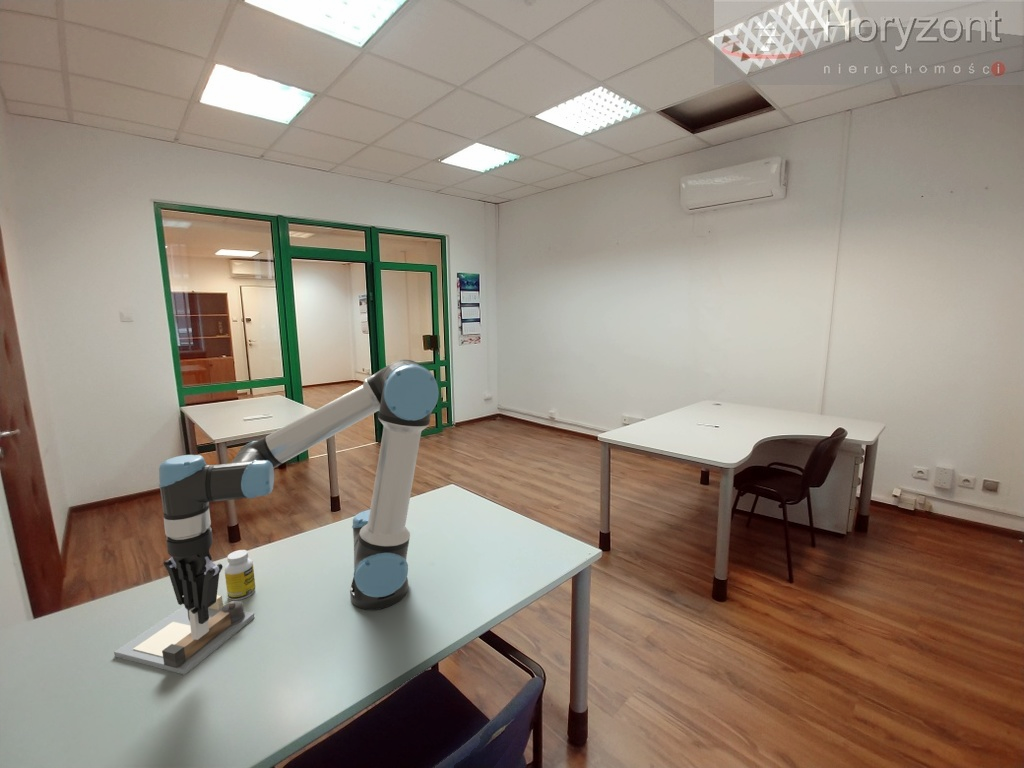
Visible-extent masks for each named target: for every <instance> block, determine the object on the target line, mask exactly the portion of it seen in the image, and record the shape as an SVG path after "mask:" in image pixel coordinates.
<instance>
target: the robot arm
mask: <svg viewBox="0 0 1024 768" xmlns="http://www.w3.org/2000/svg"><path fill="white" fill-rule="evenodd" d="M439 393H440V392H439V386H438V382H437V380H436V378H435V376H434V375H433V374H432V372H431V371H430V370H429V369H428V368H426V367H425V366H423V365H421V364H420V363H418V362H416V361H414V360H411V359H398V360H395V361H393V362H391V363H390V364H388V365H386V366H385V367H383V368H381V369H380V370H378V371H377V372H375V373H374V374H372V375H370V376H367V377H366V378H365V379H364V380H363V383H362V385H359V387H358V386H357V387H356V388H355V389H353V390H351V391H349V392H347V393H345V394H343V395H341V396H339V397H337V398H336V399H334V400H332V401H330V402H328V403H326V404H324V405H323V406H320V407H319V408H317V409H315V410H313V411H311V412H309V413H307V414H305V415H303V416H302V417H300V418H298V419H296V420H294V421H292V422H290V423H289V424H287V425H285V426H283V427H281V428H279V429H278V430H275V431H274V432H272V433H270V434H267V435H266V436H265V437H262V438H260V439H259V440H253V441H250V442H248V443H246V444H245V445H243V446H242V447H241V448H240V449H239V450H238V452H237V454H236V455H235V457H234V458H233V459H232V460H231V462H230V463H229V462H228V463H221V464H220V463H219V464H207V463H206V460H205V458H204V456H203V455H200V454H186V455H185V454H183V455H178V456H175V457H171V458H168V459H166V460H164V461H163V462H162V463H161V464H160V465H159V466H158V467H159V468H158V474H159V476H158V479H159V483H158V487H159V489H160V497H161V504H162V511H163V525H164V532H165V533H164V534H165V537H166V538H165V539H166V548H167V554H168V556H169V557H170V558H169V559H167V560H165V561H164V562H163V566H164V567H165V569H166V571H167V572H168V576H169V580H170V582H171V585H172V589H173V591H174V592H173V593H174V595H175V599H176V600H177V604H178V605H179V606H184V605H185V608H186V609H187V610H188V619H189V621H190V627H191V635H192V639H196V640H198V639H199V638H201V637H202V636H203V635H205V634H206V633H207V632H209V625H208V620H209V614H208V613H209V612H208V608H209V607H210V606H211V605H213V604H214V603H216V599H217V595H218V588H219V580H220V573H221V572H222V570H223V567H224V566H223V564H222V563H218V564H215V562H213V557H212V555H211V553H210V549H211V547H212V546H213V543H214V539H213V531H212V530H213V529H212V527H211V525H212V521H211V513H210V512H211V511H210V503H215V502H221V501H222V502H223V501H232V500H234V501H235V500H242V499H255V498H258V497H259V498H260V497H262V496H269V495H270V494H271V493H272V491H273V489H274V485H275V472H274V471H275V470H274V469H275V468H277V467H279V466H281V465H283V464H284V463H285V462H287V461H289V460H291V459H293V458H295V457H297V456H298V455H300V454H301V453H304V452H305V451H308V450H309V449H311V448H312V447H315V446H316V445H319V444H320V443H322V442H324V441H326V440H328V439H329V438H331V437H333V436H335V435H337V434H338V433H340V432H342V431H344V430H346V429H348V428H349V427H351V426H353V425H355V424H356V423H358V422H360V421H362V420H364V419H366V418H368V417H369V416H372V415H373V414H375V413H377V412H378V416H377V417H378V418H377V419H378V420H379V422H380V423H381V424H382V425H383V428H382V436H381V439H380V441H381V442H380V447H379V452H378V453H379V454H378V459H377V466H376V470H375V471H376V473H375V478H374V483H373V488H372V489H373V491H372V496H371V503H370V508H369V509H367V510H363V511H360V512H358V513H357V514H356V515H355V516H354V517H353V518H352V526H351V529H352V534H353V568H354V569H353V577H352V580H351V585H350V588H349V590H350V591H349V592H350V600H351V603H352V604H353V605H354V606H355V607H356V608H358V609H362V610H368V611H370V610H372V611H375V610H381V609H387V608H388V607H391V606H393V605H395V604H397V603H398V602H400V601H402V599H403V598H405V597H406V595H407V594H408V591H409V579H408V576H409V575H408V574H409V573H408V572H409V564H408V562H407V555H408V549H409V545H410V538H411V532H410V531H409V529H408V528H407V527H406V522H407V516H408V511H409V505H410V500H411V495H412V487H413V482H414V477H415V476H414V475H415V471H416V467H417V466H416V465H417V460H418V453H419V449H420V448H419V447H420V441H421V437H422V431H423V430H425V429H427V428H428V427H429V426H430V423H431V417H432V416H431V415H432V411H433V410H435V409H434V408H436V405H438V404H437V403H438V400H439Z"/></svg>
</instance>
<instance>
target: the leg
mask: <svg viewBox="0 0 1024 768" xmlns="http://www.w3.org/2000/svg"><path fill="white" fill-rule="evenodd" d="M244 610H245V609H244V603H243V601H241V600H231V601H230V602H228V603H226V604H224V605H223V607H222V611H220V612H218V613H217V614H216V615H214V616H213V617H211V618H210V619H209V620H208V625H209V632H207V633H206V634H205V635H203V636H202V637H201V638H199V639H198V640H196V639H192V635H191V633H190V634H188V635H187V636H186V637H184V638H183V639H182V640H180V641H179V642H177V643H176V644H175V645H174V644H171V645H169V646H168V647H167V648H165V649H164V650H163V651H162V653H163V660H164V665H166V666H170V667H174V668H178V667H179V666H180V665H181V664H183V663H184V662H185V661H186V659H188V658H189V657H190V656H191V655H193V654H194V653H195V652H196V651H198V650H199V649H200V648H202V647H203V646H204V645H205V644H207V643H208V642H209V641H210V640H212V639H213V638H214V637H216V636H217V635H218V634H219V633H221V632H222V631H223V630H224V629H226V628H227V627H228V626H229V625H231V624H232V623H235V622H237V621H239V620H240V619H242V618H243V616H244V612H245V611H244Z"/></svg>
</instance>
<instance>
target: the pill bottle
mask: <svg viewBox="0 0 1024 768" xmlns="http://www.w3.org/2000/svg"><path fill="white" fill-rule="evenodd" d="M253 562H254V561H253V560H252V559H251V558H249V551H248V550H246V549H239V550H238V549H237V550H235V551H232V552H230V553H229V554H227V564H226V565H225V566H224V575H225V577H224V579H225V584H226V594H227V597H228V599H229V600H231V601H241V600H244V599H247V598H248V597H250V596H251V595H253V594H254V593H255V591H256V578H255V572H254V571H255V570H254V563H253Z"/></svg>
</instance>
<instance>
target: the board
mask: <svg viewBox="0 0 1024 768" xmlns="http://www.w3.org/2000/svg"><path fill="white" fill-rule="evenodd" d="M223 606H224V602H223V596H222V595H219V594H217V599H216V603H214V604H213V605H211V606H210V607H209V608H208V612H209V613H208V614H209V619H210V618H211V617H213V616H214V615H216V614H217V613H218V612H220V611H222V607H223ZM254 618H255V613H253V612H249V611H244V616H243V618H242V619H240V620H239V621H237V622H235V623H232V624H231V625H229V626H228V627H227V628H226V629H224V630H223V631H222V632H221V633H219V634H218V635H217V636H216V637H214V638H213V639H212V640H210V641H209V642H208V643H207V644H205V645H204V646H203V647H202V648H200V649H199V650H198V651H196V652H195V653H194V654H193V655H191V656H190V657H189V658H188V659H186V661H185V662H184V663H183V664H181V665H180V666H179V667H178V668H174V667H170V666H166V665H164V660H163V653H162V651H163V650H164V649H165V648H167V647H168V646H169V645H171V644H174V645H175V644H176V643H177V642H179V641H180V640H182V639H183V638H184V637H186V636H187V635H188V634H190V633H191V627H190V621H189V619H188V610H187V609H186V608H185V605H184V604H183V605H181V606H180V607H179V608H178V609H176V610H175V611H173V612H172V613H170V614H169V615H167V616H165V617H164V618H162V619H161V620H160V621H157V622H156V623H155V624H154V625H151V627H149V628H148V629H146V630H144V631H143V632H142V633H140V634H138V635H137V636H135V637H134V638H132V639H131V640H129V641H128V642H126V643H124V645H121V646H120V647H119V648H118V649H116V650H114V651H113V654H114V655H113V656H114V657H116V658H119V659H123V660H127V661H131V662H134V663H138V664H142V665H147V666H149V667H154V668H158V669H160V670H161V669H162V670H165V671H169V672H172V673H177V674H180V675H187V673H189V672H190V671H191V670H193V669H194V668H195V667H196V666H198V664H200V663H201V662H202V661H204V660H205V659H206V658H207V657H208V656H209V655H211V654H212V653H213V652H215V651H216V650H217V649H218V648H220V647H221V646H222V645H223V644H224V643H225V642H226V641H228V640H229V639H231V637H233V636H234V635H236V634H237V632H239V631H240V630H241V629H243V628H244V627H245V626H247V625H248V624H249V623H250V622H251V621H253V620H254Z"/></svg>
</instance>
